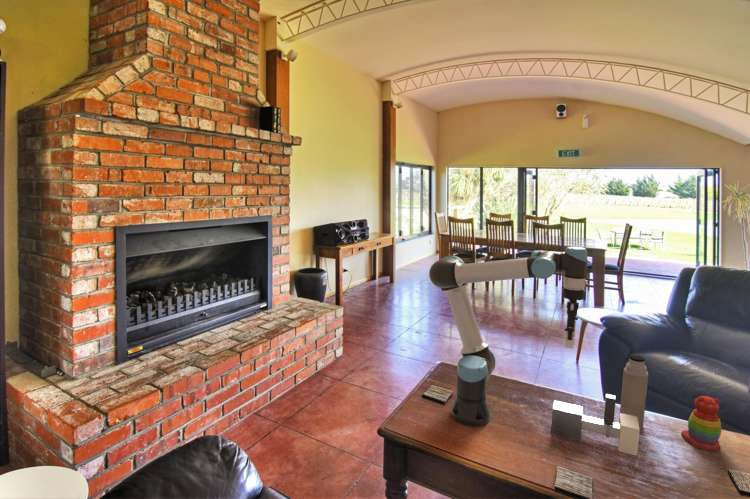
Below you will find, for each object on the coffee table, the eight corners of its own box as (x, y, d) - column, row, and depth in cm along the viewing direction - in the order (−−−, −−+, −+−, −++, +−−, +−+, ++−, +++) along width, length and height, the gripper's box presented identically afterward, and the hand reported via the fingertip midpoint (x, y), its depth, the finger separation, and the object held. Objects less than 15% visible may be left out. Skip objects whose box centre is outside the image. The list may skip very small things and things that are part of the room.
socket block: (618, 451, 145) (620, 425, 144) (617, 437, 153) (619, 412, 152) (636, 455, 143) (639, 429, 141) (634, 441, 151) (637, 416, 149)
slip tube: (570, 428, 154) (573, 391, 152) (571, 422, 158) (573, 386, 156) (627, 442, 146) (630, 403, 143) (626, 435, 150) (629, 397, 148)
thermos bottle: (637, 420, 164) (644, 353, 160) (646, 432, 156) (653, 362, 152) (615, 418, 166) (621, 352, 161) (623, 430, 158) (629, 360, 154)
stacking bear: (713, 437, 153) (719, 392, 150) (726, 454, 144) (733, 406, 141) (679, 432, 156) (684, 388, 154) (689, 448, 147) (695, 401, 144)
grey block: (551, 432, 156) (552, 408, 155) (552, 423, 162) (554, 400, 161) (580, 440, 152) (582, 415, 150) (581, 430, 158) (582, 406, 156)
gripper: (584, 296, 144) (580, 354, 147) (585, 282, 166) (581, 333, 169) (560, 294, 147) (557, 351, 150) (565, 280, 169) (561, 330, 172)
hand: (570, 341), depth 160 cm, fingers open, 13 cm apart
